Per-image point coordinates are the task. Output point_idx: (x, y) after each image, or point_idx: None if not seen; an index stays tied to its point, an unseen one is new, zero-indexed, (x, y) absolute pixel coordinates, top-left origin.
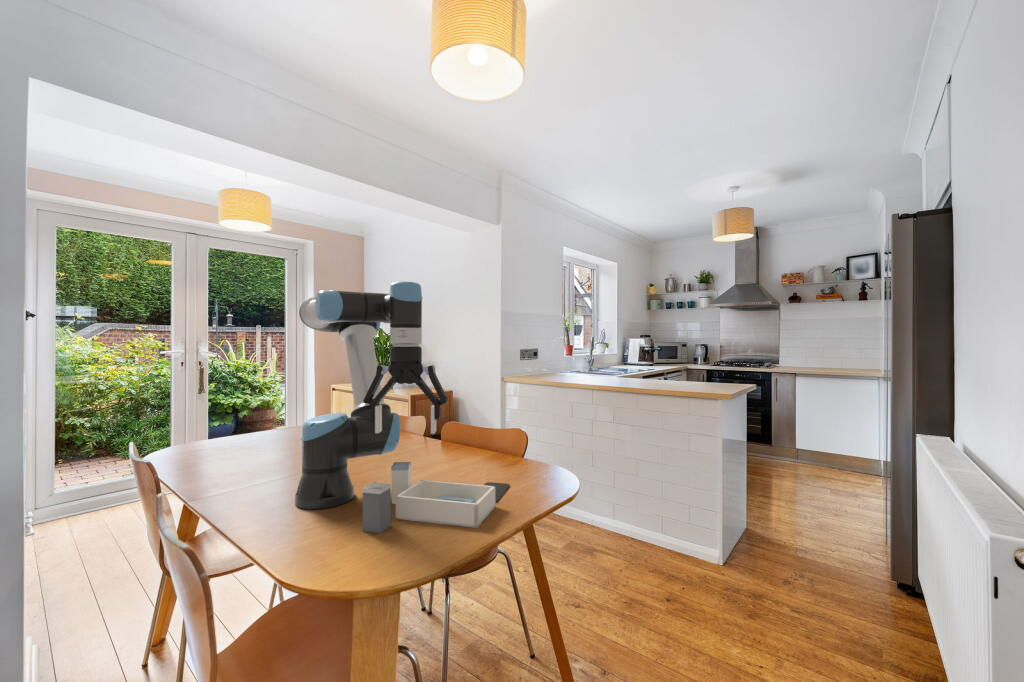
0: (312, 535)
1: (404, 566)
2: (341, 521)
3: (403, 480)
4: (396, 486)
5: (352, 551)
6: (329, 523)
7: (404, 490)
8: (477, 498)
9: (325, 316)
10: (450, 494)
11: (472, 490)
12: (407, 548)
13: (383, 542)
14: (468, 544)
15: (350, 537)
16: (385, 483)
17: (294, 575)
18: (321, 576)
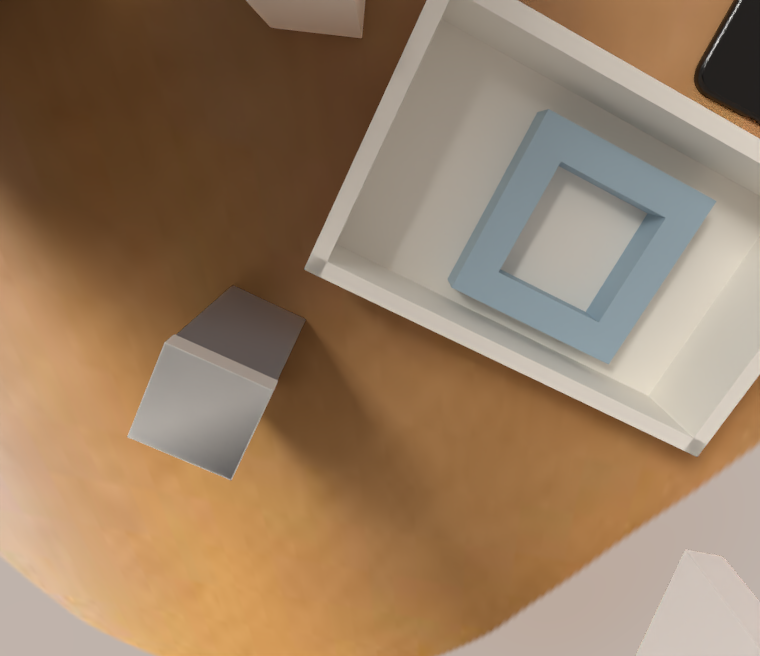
0: (17, 353)
1: (384, 607)
2: (80, 232)
3: (322, 3)
4: (280, 6)
5: (210, 499)
6: (35, 244)
7: (335, 19)
8: (736, 174)
9: None
10: (604, 96)
11: (737, 161)
12: (386, 511)
13: (300, 456)
14: (587, 520)
15: None
16: (242, 384)
17: (88, 598)
18: (165, 615)
